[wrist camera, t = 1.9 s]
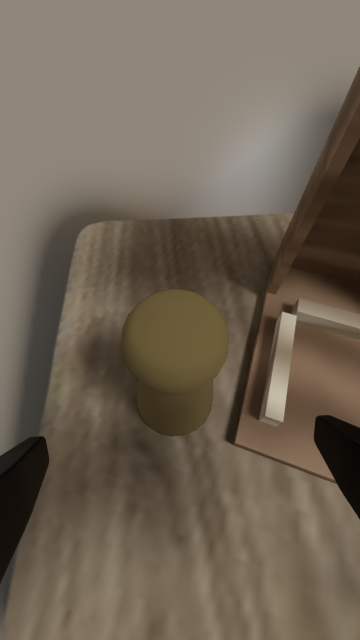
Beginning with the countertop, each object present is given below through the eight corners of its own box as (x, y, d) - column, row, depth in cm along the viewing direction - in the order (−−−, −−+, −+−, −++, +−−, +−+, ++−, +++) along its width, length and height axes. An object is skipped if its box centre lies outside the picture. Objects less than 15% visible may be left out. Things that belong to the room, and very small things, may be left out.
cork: (122, 415, 20) (75, 354, 10) (157, 349, 23) (145, 255, 13) (196, 450, 18) (219, 416, 9) (222, 375, 21) (260, 293, 12)
